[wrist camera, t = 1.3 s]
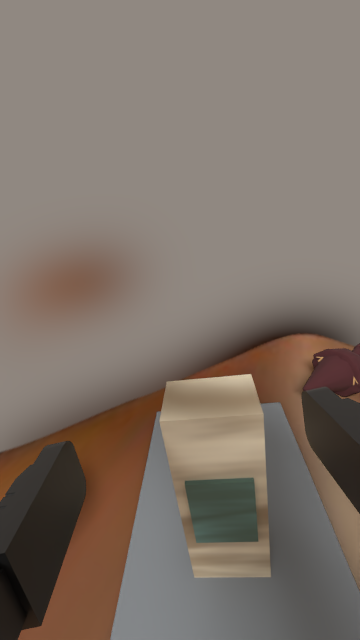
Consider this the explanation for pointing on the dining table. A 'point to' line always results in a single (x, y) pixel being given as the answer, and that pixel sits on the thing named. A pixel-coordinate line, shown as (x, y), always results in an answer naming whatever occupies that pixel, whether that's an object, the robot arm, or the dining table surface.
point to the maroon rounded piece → (336, 371)
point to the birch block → (219, 473)
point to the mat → (239, 592)
